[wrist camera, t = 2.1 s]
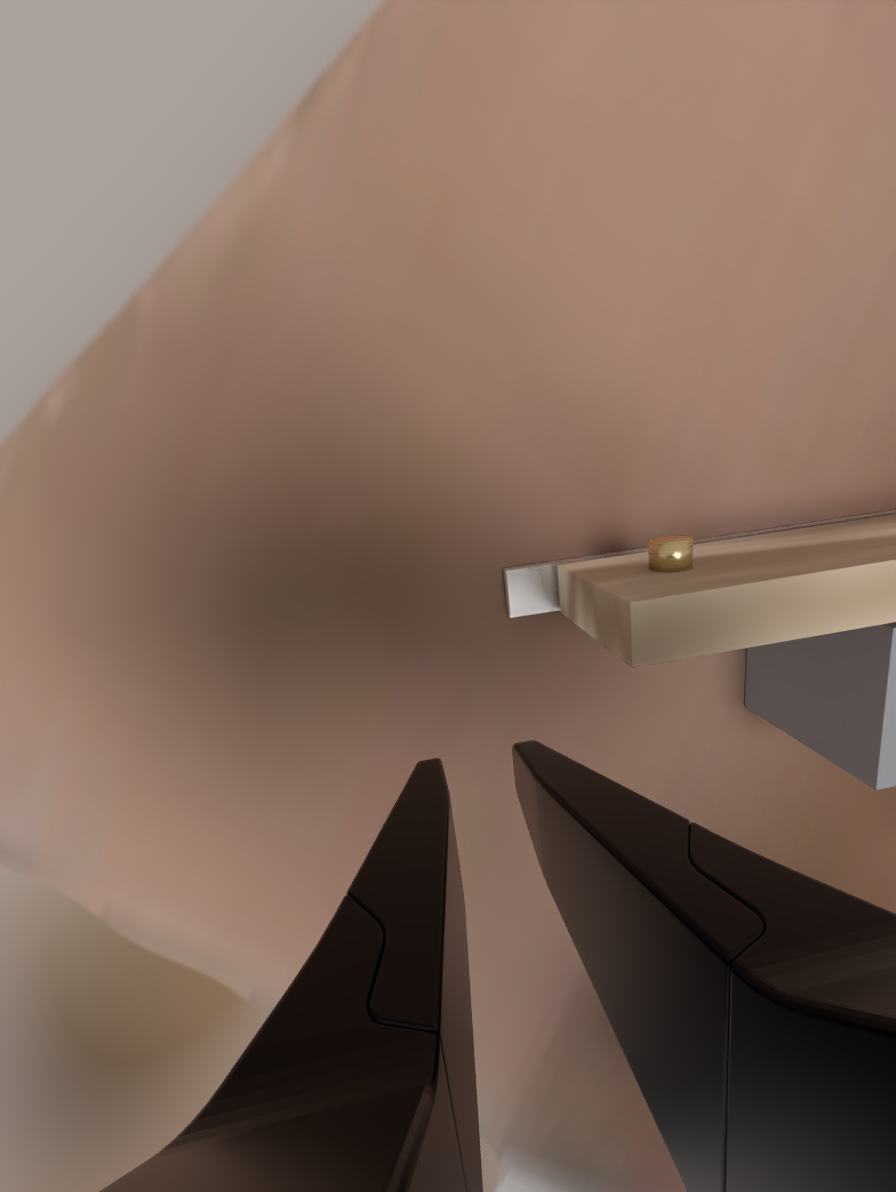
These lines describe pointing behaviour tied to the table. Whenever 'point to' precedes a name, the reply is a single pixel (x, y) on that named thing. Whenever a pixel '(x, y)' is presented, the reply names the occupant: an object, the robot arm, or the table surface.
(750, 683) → the cabinet
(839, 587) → the door
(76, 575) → the table surface
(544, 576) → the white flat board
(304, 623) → the table surface
